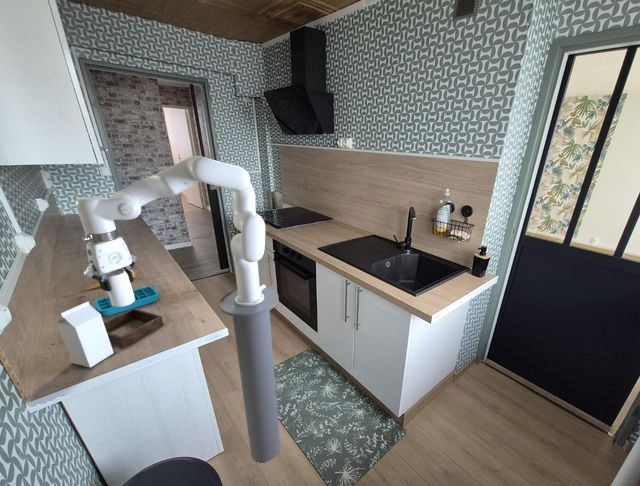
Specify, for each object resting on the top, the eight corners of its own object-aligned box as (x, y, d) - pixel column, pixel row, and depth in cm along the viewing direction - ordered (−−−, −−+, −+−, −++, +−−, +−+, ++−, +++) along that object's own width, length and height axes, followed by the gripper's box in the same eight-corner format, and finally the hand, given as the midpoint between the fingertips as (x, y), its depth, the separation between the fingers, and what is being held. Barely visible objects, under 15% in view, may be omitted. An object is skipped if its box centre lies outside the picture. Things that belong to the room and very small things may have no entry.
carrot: (136, 277, 146) (131, 269, 145) (137, 277, 143) (133, 268, 142) (84, 295, 132) (79, 286, 131) (85, 295, 129) (80, 286, 128)
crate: (135, 316, 115) (133, 307, 114) (163, 324, 111) (161, 316, 110) (93, 337, 102) (90, 328, 101) (123, 348, 98) (120, 338, 97)
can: (129, 296, 107) (119, 267, 102) (139, 301, 104) (130, 271, 99) (108, 304, 101) (97, 273, 97) (118, 309, 99) (108, 278, 94)
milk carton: (113, 353, 96) (97, 303, 89) (90, 368, 89) (70, 315, 82) (96, 349, 97) (79, 299, 90) (72, 363, 90) (51, 311, 83)
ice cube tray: (161, 300, 127) (159, 294, 126) (101, 318, 113) (98, 311, 111) (152, 291, 134) (151, 285, 133) (94, 307, 119) (92, 300, 118)
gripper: (78, 246, 84) (97, 299, 91) (138, 230, 100) (151, 277, 107) (61, 242, 87) (81, 295, 93) (122, 227, 102) (136, 273, 109)
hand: (118, 285), depth 100 cm, fingers closed on can, 6 cm apart
